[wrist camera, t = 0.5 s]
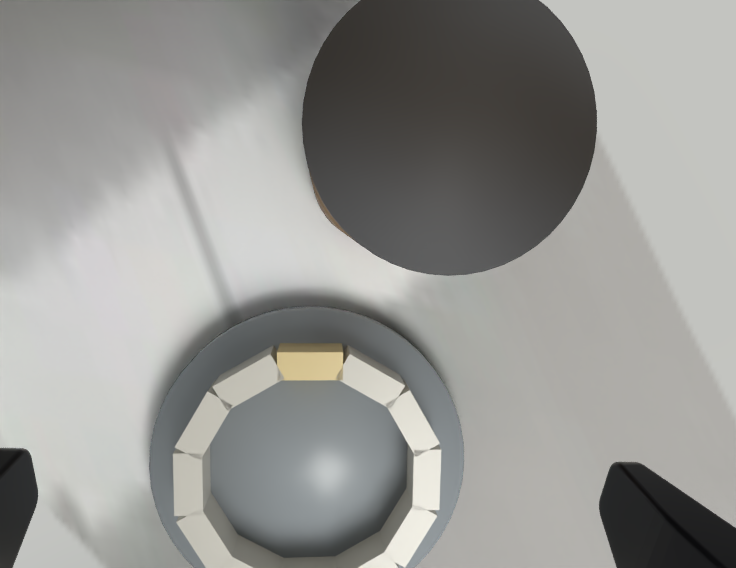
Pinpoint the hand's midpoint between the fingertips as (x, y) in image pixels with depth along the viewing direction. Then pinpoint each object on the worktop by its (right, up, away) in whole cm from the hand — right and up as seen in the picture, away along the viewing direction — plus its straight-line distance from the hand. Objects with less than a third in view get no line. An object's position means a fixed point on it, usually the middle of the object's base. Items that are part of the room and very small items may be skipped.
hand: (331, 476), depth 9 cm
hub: (-2, -4, +14) cm, 15 cm away
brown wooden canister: (+1, +7, +13) cm, 15 cm away
